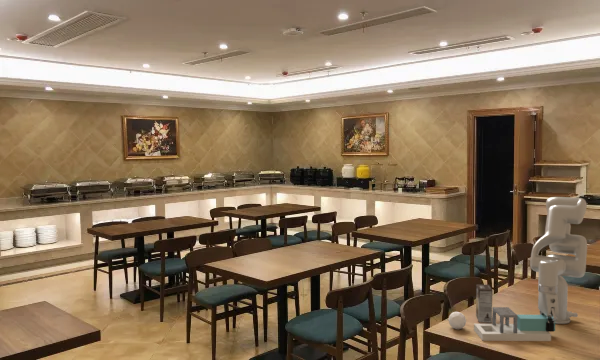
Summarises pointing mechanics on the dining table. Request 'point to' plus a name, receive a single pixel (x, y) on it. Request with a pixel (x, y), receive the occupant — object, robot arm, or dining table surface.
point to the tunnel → (505, 313)
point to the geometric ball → (457, 320)
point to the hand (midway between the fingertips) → (546, 328)
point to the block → (532, 322)
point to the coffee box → (484, 303)
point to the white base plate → (509, 333)
